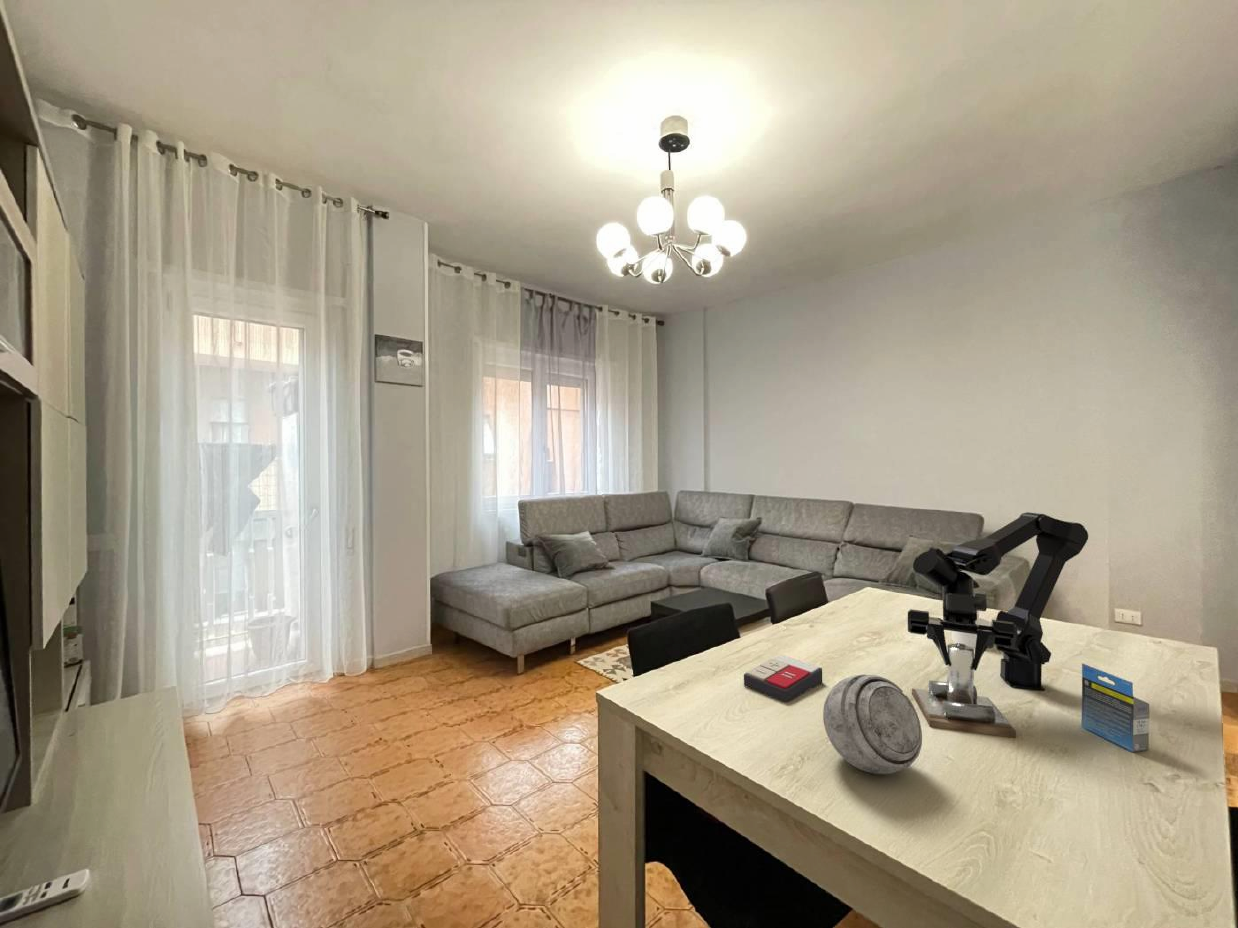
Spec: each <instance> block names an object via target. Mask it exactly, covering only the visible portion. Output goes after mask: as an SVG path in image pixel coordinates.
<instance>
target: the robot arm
mask: <svg viewBox="0 0 1238 928" xmlns="http://www.w3.org/2000/svg"><path fill="white" fill-rule="evenodd" d="M1033 538H1035V542H1036V546H1037V550H1038V553H1037V555H1036V558H1035V560H1034V563H1033V564H1032V567H1031V568H1030V571H1029V574H1028V575H1027V578H1026V580H1025V582H1024V585H1023V586H1022V588H1021V591H1020V593H1019V595H1018V596H1017V599H1016V601H1015V603H1014V606H1013V607H1012V608H1011V609H1009V610H1008V611H1004V610H1000V611H998V613H997V615H996V618H995V619H991V621H990V622H991V626H984V625H977V624H976V621H977V611H979V612H986V611H987V609H988V605H987V594H985V593H975V590H974V589H978V588H980V585H979V583H978V582H977V581H976V580H975V579H973V577H972V576H971V575H969V574H968V573H971V574H975V575H979V576H987V575H989V574H990V573H992V572H993V571H994V570H995V569H996V568H997V567H998V566H1000V565H1001V561H1002V558H1003V557H1004V556H1005V555H1006V554H1008V553H1010V552H1011V551H1013V550H1015V549H1016V548H1018V547H1020V546H1021V545H1023V544H1024V543H1026V542H1028V541H1029V540H1031V539H1033ZM1088 540H1089V532H1088V531H1087V529H1086V528H1085V526H1084V525H1083V524H1081V523H1079V522H1073V521H1065V520H1061V519H1058V518H1054V517H1051V516H1050V515H1047V514H1046V513H1045V514H1044V513H1037V512H1028V511H1026V512H1023V513H1021V514H1020V515H1019V516H1018V518H1016V519H1014V520H1013V521H1011V522H1010V523H1008V524H1006V525H1004V526H1003V527H1001V528H999V529H997V530H996V531H994V532H993V533H991V534H989V535H988V536H986V537H984V538H981V539H975V540H969V541H966V542H963V543H960V544H957V545H956V546H955V547H954V548H953V549H952V550H951V551H948V552H947V553H944V551H943V550H941V549H940V548H938V547H934V546H931V547H930V548H929V550H928V551H924V552H922V553H921V554H919V555H918V556H916V557H915V559H914V560H913V564H912V567H913V571H914V572H915V573H916V574H918V575H920V576H921V577H922V578H923V579H925V580H926V581H927V582H929V583H930V584H932V585H933V586H934V587H937V588H942V618H940V617H937V616H936V617H935V616H930V611H927V610H918V609H912V608H911V609H910V610H909V611H907V632H908V633H910V634H916V635H923V636H925V635H926V638H927V639H928V640H931V641H933V643H934V645H935V647H936V648H937V650H938V651H939V653H940V656H941V657H942V660H943V662H944V666H946V667H947V666H948V646H947V641H946V636H945V631H951V632H952V631H956V632H963V633H970V634H977V638H976V646H975V648H974V671H977V669H978V667H979V664H980V662H981V658H982V656H983V655H984V654H985V652H986V651H987V649H994V646H995V648H996V650H997V651H999V652H1002V653H1003V654H1002V655H1003V656H1002V658H1001V659H1000V672H999V676H1000V677H1001V678H1002V679H1003V680H1004V681H1005V682H1006V683H1007V685H1008V686H1010V687H1011V688H1019V689H1029V690H1030V689H1031V690H1038V691H1046V687H1044V685H1043V684H1042V676H1043V675H1042V671H1043V667H1042V665H1045V664H1047V663H1049V662H1050V660H1051V657H1052V652H1051V651H1050V649H1049V648H1048V647H1046V645H1045V644H1044V643H1043V642H1042V638H1043V637H1044V636H1043V635H1044V633H1043V628H1042V625H1041V617H1042V615H1043V612H1044V611H1045V608H1046V606H1047V604H1048V601H1049V600H1050V597H1051V595H1052V593H1053V591H1054V589H1055V586H1056V584H1057V582H1058V580H1059V577H1060V575H1061V573H1062V570H1063V569H1064V566H1065V565H1066V562H1068V561H1070V560H1071V559H1072V558H1073V559H1074V557H1076V556H1078V555H1079V554H1080V553H1081V551H1082V550H1083V548H1084V547H1085V546H1086V544H1087V542H1088ZM967 572H968V573H967Z"/></svg>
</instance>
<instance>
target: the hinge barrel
mask: <svg viewBox="0 0 1238 928" xmlns="http://www.w3.org/2000/svg"><path fill="white" fill-rule="evenodd" d="M947 653H948V666H947V665H946V667H947V669H946V671H947V674H946V675H947V676H946V677H947V678H946V682H947V701H951V702H959V703H968V704H973V690H974V686H975V683H974V682H975V681H974V679H975V678H974V677H975V676H974V675H975V672H974V671H975V670H974V654H975V648H971V647H969V646H966V645H964V644H961V643H949V644H947Z"/></svg>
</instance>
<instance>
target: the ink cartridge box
mask: <svg viewBox="0 0 1238 928" xmlns="http://www.w3.org/2000/svg"><path fill="white" fill-rule="evenodd" d="M1099 677H1100V678H1107V679H1108V680H1109V681H1110V682H1113V683H1114V684H1112V683H1110V682H1107V681H1105V680H1102V679H1100V678H1099ZM1133 686H1134V684H1133V682H1132V681H1128V680H1126V679H1125V678H1124V679H1123V678H1121V677H1119V676H1117V675H1114V674H1111V673H1109V672H1106V671H1103V670H1100V669H1097V668H1095V667H1092V666H1090V665H1088V664H1085V663H1081V728H1082V729H1085V730H1087V731H1089V732H1090V733H1093V734H1095V735H1096V736H1098V737H1101V738H1103V739H1106V740H1108V741H1110V742H1112V743H1114V744H1116V745H1118V746H1119V747H1122V748H1124V749H1125V750H1127V751H1128V752H1131V753H1138V752H1145V751H1149V745H1150V744H1149V742H1150V737H1149V736H1150V703H1148V702H1146V701H1144V700H1142V699H1140V698H1137V697H1135V696H1134V690H1133Z"/></svg>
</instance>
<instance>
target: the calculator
mask: <svg viewBox="0 0 1238 928" xmlns="http://www.w3.org/2000/svg"><path fill="white" fill-rule="evenodd" d="M822 684H823V668H822V667H820V666H818V665H815V664H812V663H810V662H806V661H803V660H800V659H797V658H794V657H791V656H787V655H785V654H782V653H781V654H778V655H777V656H775V657H773V658H770V659H768V660H766V661H764V662H762V663H760V664H759V665H757V666H755V667H753V668H751V669H749V670H747V671H746V673H743V686H744V687H747V688H749V689H751V690H753V691H757V692H759V693H760V694H764V695H765V696H768V697H771V698H774V699H775V700H779V701H780V702H783V703H789V702H790V701H793V700H794V699H797V698H798V697H800V696H802V695H804V694H805V693H806V692H808V691H809V690H811V689H814V688H816V687H817V686H820V685H822Z"/></svg>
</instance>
